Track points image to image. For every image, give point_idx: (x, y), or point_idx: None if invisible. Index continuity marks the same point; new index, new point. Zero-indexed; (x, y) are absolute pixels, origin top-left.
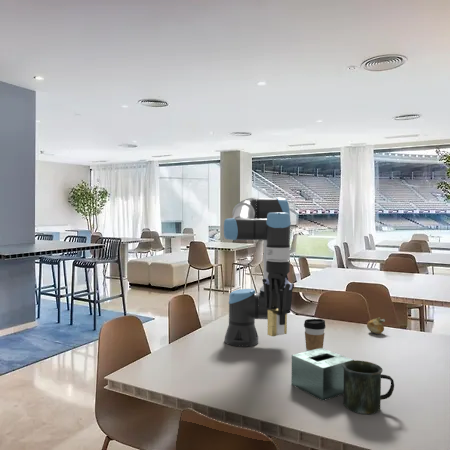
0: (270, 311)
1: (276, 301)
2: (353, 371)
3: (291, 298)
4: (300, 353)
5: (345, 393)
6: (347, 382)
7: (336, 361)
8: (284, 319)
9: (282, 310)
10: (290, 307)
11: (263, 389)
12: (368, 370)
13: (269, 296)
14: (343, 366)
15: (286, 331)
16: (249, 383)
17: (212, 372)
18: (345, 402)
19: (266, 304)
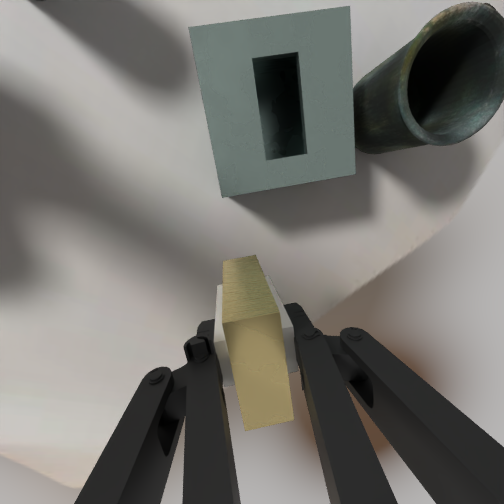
0: (274, 419)
1: (222, 415)
2: (463, 138)
3: (476, 426)
4: (219, 159)
5: (382, 149)
6: (411, 146)
7: (333, 88)
8: (307, 321)
9: (352, 389)
10: (392, 356)
11: (222, 263)
12: (430, 37)
13: (142, 498)
14: (423, 138)
15: (256, 259)
16: (183, 278)
17: (97, 329)
18: (371, 152)
19: (171, 439)
